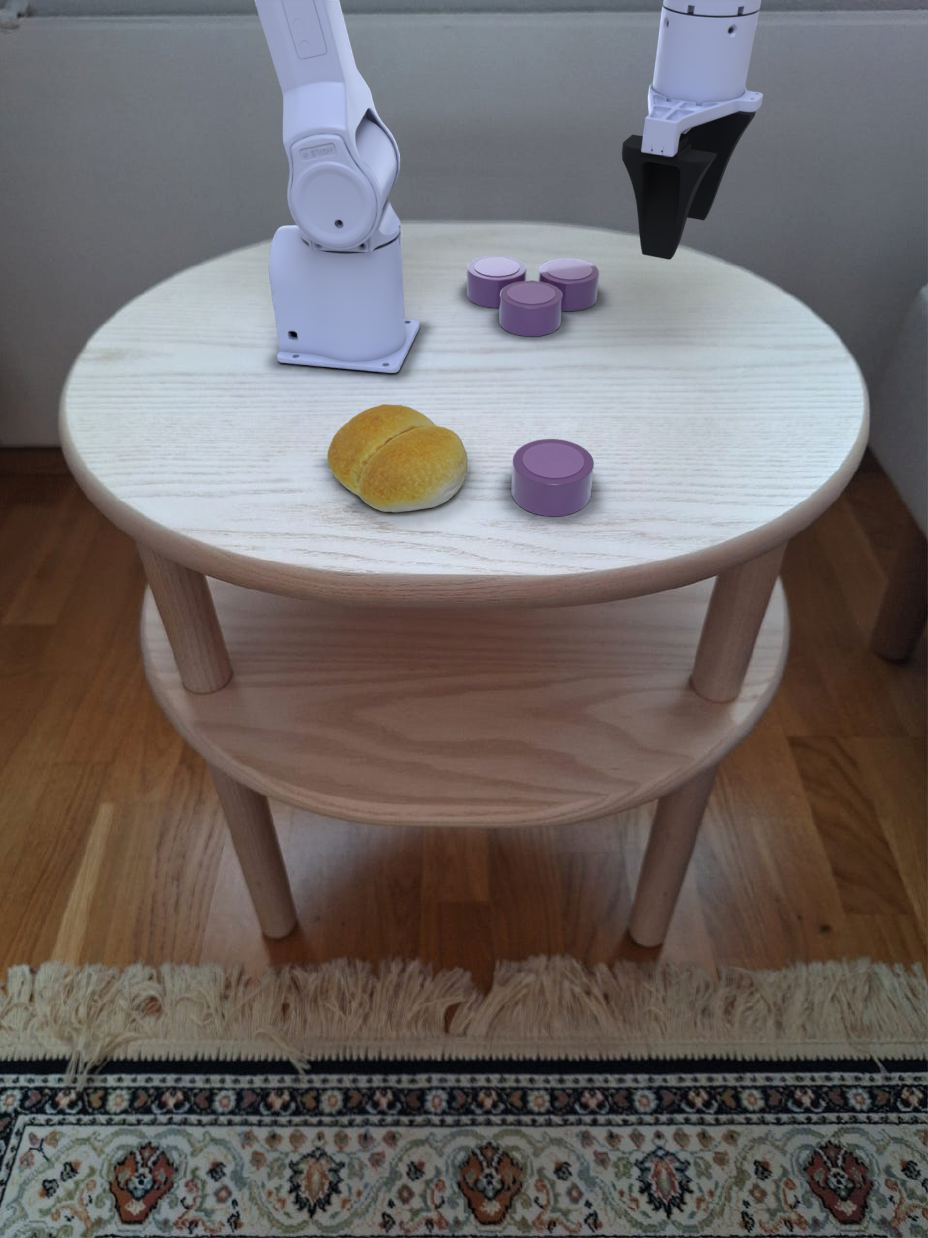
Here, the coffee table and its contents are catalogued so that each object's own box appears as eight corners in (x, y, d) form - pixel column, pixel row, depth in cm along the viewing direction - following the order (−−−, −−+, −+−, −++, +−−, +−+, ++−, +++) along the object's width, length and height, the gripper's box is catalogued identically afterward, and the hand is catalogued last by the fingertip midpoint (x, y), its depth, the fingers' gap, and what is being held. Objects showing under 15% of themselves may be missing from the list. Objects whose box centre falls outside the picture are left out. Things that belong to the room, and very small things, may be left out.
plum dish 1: (494, 333, 76) (495, 304, 74) (504, 306, 79) (505, 277, 77) (556, 339, 75) (558, 309, 73) (563, 311, 78) (565, 282, 77)
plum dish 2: (533, 308, 79) (535, 279, 77) (541, 283, 82) (543, 254, 81) (594, 313, 78) (596, 284, 76) (599, 287, 82) (601, 259, 80)
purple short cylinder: (461, 305, 79) (461, 276, 78) (472, 280, 83) (472, 252, 81) (521, 310, 79) (522, 281, 77) (529, 284, 82) (530, 256, 80)
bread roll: (399, 535, 57) (395, 480, 54) (310, 472, 62) (303, 419, 59) (497, 480, 61) (499, 426, 58) (407, 425, 66) (404, 373, 63)
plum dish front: (505, 511, 59) (506, 478, 57) (517, 466, 62) (518, 433, 60) (586, 520, 58) (590, 487, 56) (593, 474, 61) (597, 441, 60)
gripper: (745, 40, 51) (700, 286, 60) (805, -10, 60) (758, 210, 69) (620, 26, 53) (596, 265, 62) (696, -20, 62) (666, 194, 72)
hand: (675, 235), depth 66 cm, fingers open, 7 cm apart
